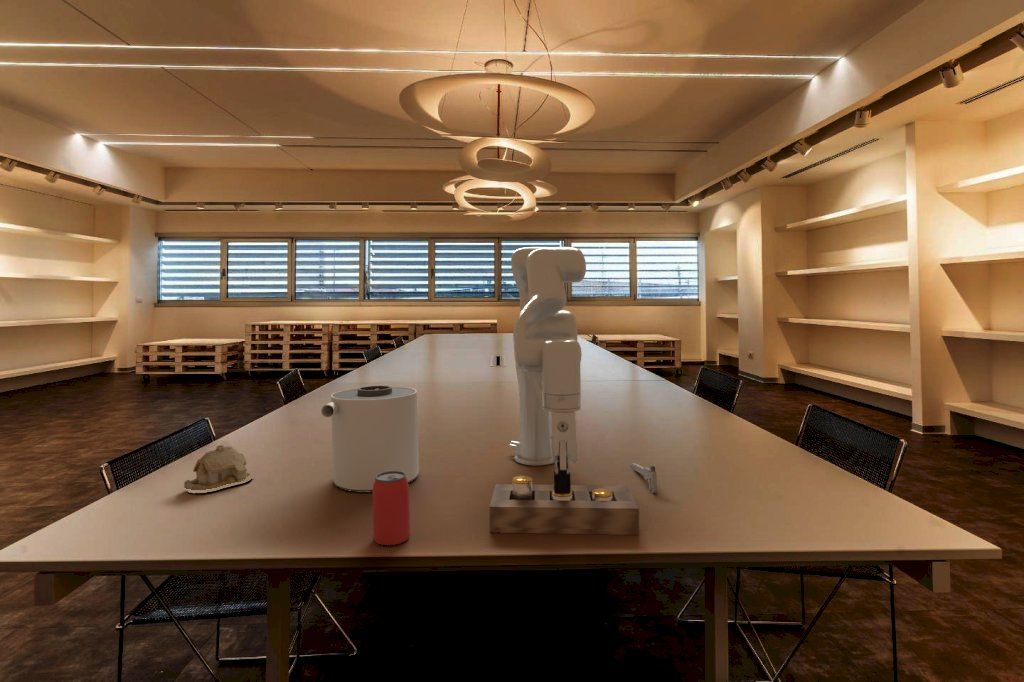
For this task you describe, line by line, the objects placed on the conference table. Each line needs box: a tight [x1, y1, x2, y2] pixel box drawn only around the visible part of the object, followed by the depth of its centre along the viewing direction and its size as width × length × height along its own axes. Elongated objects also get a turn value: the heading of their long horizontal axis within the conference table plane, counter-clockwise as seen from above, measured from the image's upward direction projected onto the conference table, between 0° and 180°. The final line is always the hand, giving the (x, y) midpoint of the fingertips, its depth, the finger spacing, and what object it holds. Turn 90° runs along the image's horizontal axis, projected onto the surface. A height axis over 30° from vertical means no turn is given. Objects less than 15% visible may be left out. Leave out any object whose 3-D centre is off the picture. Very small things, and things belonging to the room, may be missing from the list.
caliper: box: [629, 462, 658, 494], centre depth 119 cm, size 20×1×6 cm, turn 0°
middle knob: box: [552, 490, 572, 501], centre depth 95 cm, size 4×4×5 cm
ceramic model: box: [183, 444, 251, 490], centre depth 118 cm, size 14×11×10 cm
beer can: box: [371, 471, 411, 547], centre depth 88 cm, size 7×7×12 cm
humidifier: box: [320, 385, 420, 491], centre depth 120 cm, size 22×21×23 cm
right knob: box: [592, 489, 612, 501], centre depth 95 cm, size 4×4×5 cm
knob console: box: [489, 483, 640, 536], centre depth 95 cm, size 28×12×5 cm, turn 86°
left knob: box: [511, 475, 533, 500], centre depth 95 cm, size 4×4×5 cm
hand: (562, 492), depth 95 cm, fingers closed
